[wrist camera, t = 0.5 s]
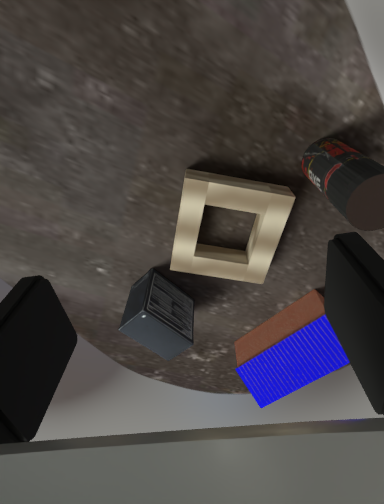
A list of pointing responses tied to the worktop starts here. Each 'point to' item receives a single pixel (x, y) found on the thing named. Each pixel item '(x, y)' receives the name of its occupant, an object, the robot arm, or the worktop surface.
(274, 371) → the house
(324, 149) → the deodorant
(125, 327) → the small box
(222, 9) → the worktop surface
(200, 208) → the holder
